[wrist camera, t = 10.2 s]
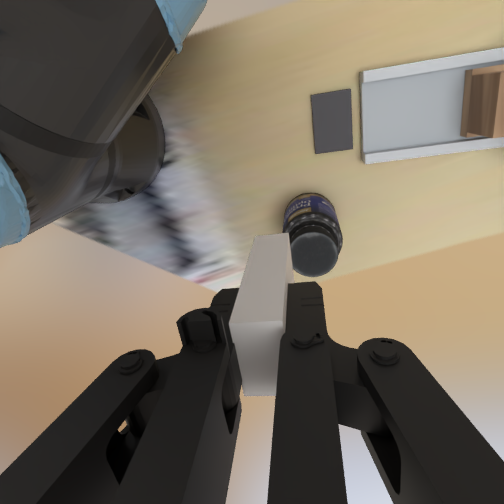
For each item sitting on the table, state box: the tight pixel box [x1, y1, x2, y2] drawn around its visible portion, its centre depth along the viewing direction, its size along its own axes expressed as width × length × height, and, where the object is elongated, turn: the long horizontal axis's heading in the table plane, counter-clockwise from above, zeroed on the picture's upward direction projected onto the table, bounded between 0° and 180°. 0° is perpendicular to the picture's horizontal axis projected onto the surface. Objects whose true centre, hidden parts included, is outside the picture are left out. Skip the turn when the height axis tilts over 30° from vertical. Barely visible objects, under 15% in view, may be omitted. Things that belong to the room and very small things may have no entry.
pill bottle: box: [283, 193, 343, 277], centre depth 37 cm, size 6×6×11 cm
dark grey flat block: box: [311, 89, 353, 154], centre depth 37 cm, size 4×6×1 cm, turn 9°
